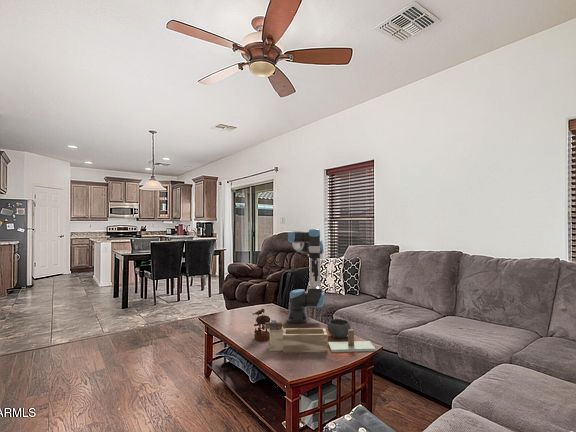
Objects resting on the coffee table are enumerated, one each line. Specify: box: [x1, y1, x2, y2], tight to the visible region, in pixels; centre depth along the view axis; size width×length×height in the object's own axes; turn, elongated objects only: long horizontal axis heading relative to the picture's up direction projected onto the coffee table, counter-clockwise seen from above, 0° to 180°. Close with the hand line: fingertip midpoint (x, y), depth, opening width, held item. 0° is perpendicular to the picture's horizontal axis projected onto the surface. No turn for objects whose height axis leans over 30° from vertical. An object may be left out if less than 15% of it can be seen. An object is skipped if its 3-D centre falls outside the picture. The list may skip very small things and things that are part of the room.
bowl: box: [327, 318, 351, 339], centre depth 211 cm, size 15×15×10 cm
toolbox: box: [269, 319, 329, 354], centre depth 192 cm, size 12×34×16 cm, turn 91°
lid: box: [328, 328, 377, 353], centre depth 193 cm, size 12×26×11 cm, turn 93°
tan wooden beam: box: [265, 321, 283, 330], centre depth 192 cm, size 2×10×3 cm, turn 91°
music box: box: [252, 308, 271, 343], centre depth 209 cm, size 15×11×20 cm
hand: (314, 284), depth 213 cm, fingers open, 13 cm apart
